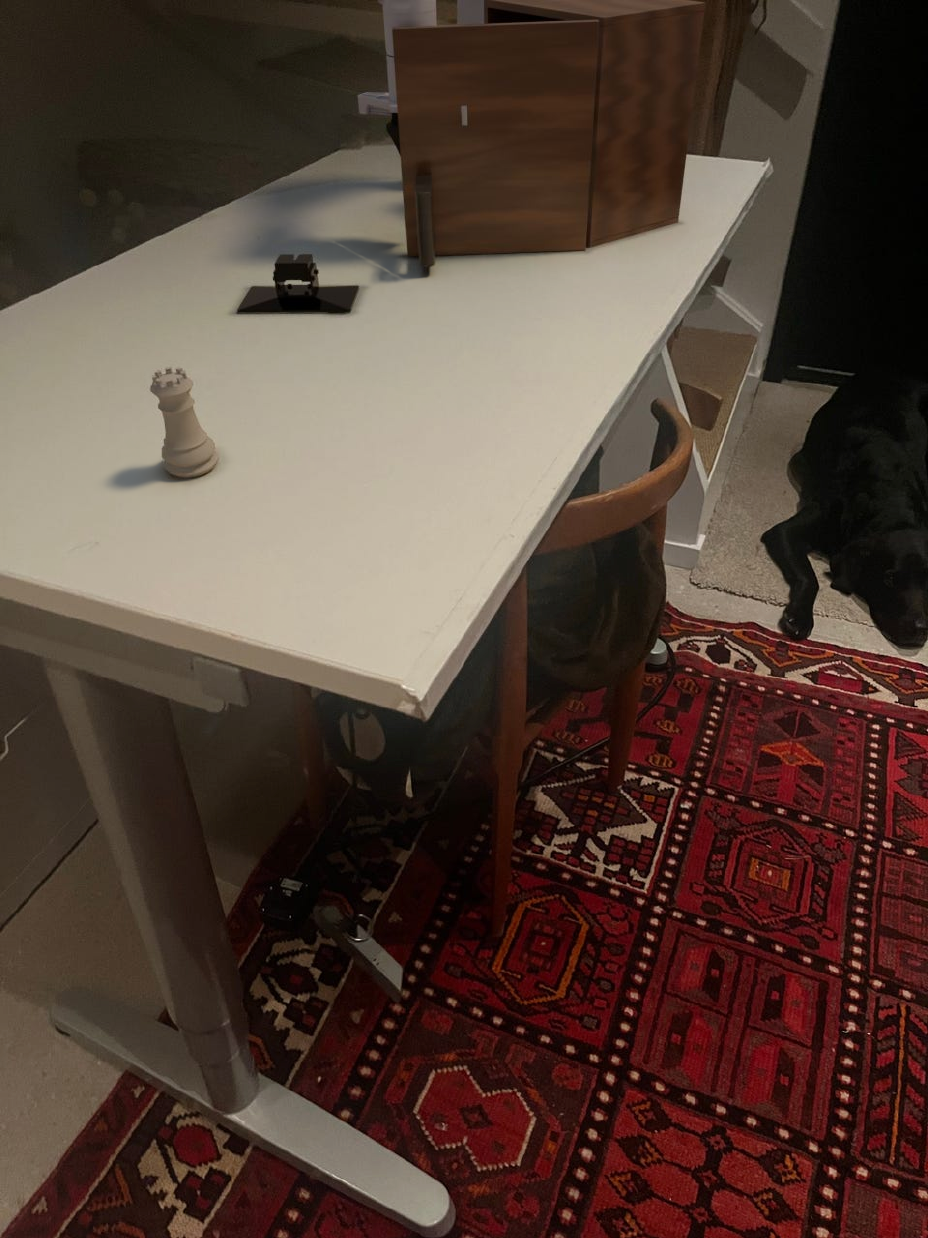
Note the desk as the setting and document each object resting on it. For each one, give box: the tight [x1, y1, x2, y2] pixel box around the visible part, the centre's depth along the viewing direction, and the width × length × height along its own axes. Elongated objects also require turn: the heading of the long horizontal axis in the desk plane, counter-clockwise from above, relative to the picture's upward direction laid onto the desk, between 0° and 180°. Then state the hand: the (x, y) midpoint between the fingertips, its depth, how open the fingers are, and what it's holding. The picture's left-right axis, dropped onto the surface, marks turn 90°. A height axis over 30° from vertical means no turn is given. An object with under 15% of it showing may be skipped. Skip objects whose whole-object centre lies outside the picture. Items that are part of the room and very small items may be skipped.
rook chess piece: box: [149, 366, 220, 478], centre depth 71 cm, size 4×4×8 cm
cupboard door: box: [392, 20, 599, 268], centre depth 98 cm, size 8×22×23 cm, turn 92°
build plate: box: [236, 253, 360, 315], centre depth 98 cm, size 12×7×5 cm, turn 87°
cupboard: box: [484, 0, 706, 249], centre depth 111 cm, size 15×22×24 cm
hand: (419, 185), depth 107 cm, fingers closed
